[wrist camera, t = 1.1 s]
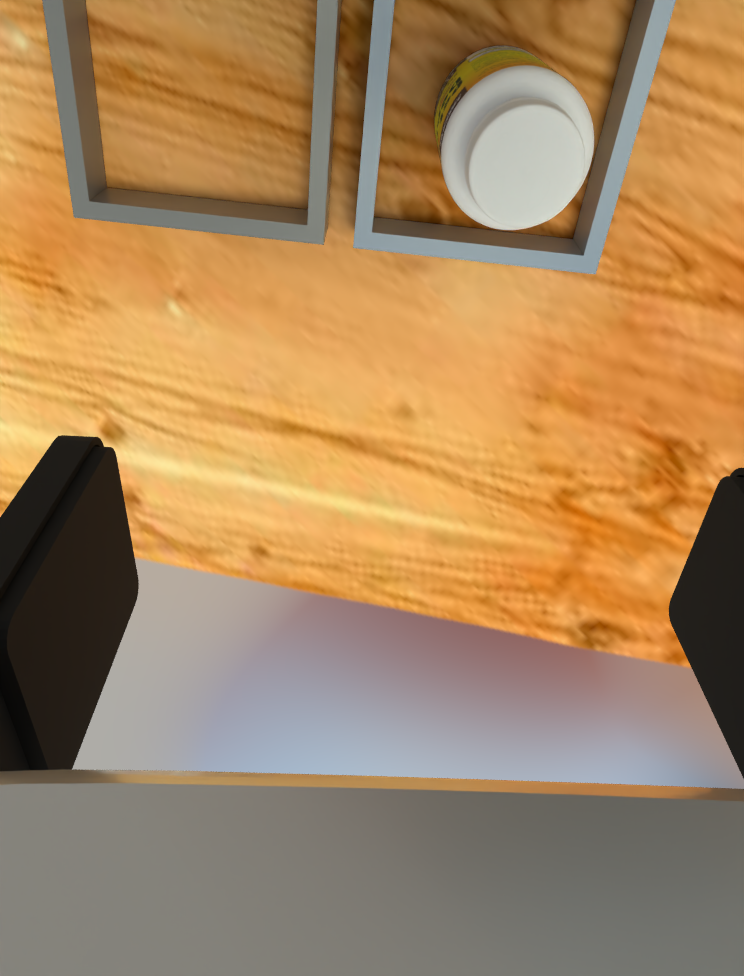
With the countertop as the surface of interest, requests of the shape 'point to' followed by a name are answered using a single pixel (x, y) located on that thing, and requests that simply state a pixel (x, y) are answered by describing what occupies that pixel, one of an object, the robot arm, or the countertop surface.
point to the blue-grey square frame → (508, 246)
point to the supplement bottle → (511, 138)
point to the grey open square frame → (173, 210)
